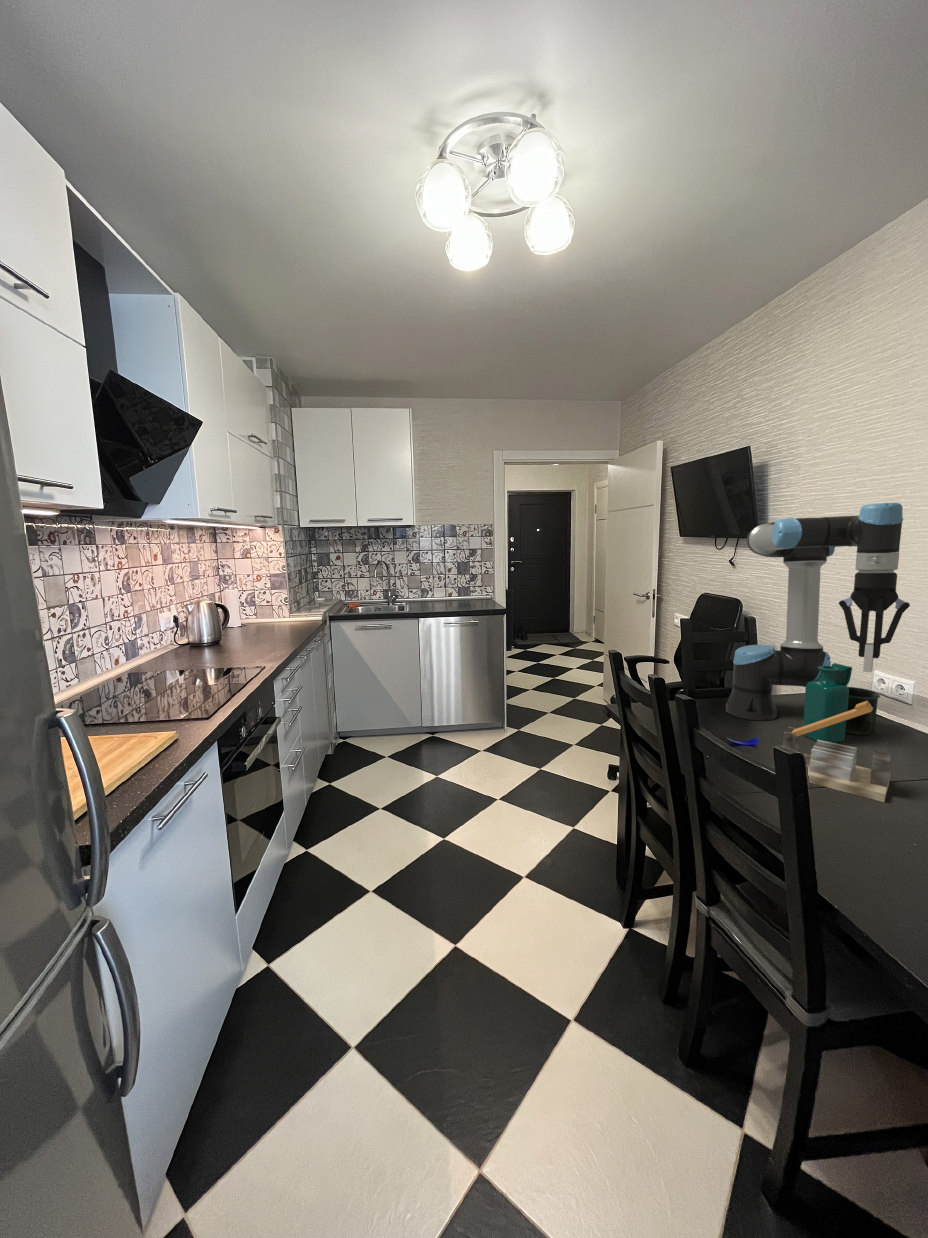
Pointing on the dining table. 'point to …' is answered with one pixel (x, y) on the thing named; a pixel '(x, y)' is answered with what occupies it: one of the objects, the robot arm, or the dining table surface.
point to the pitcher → (827, 702)
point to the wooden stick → (835, 719)
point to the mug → (866, 721)
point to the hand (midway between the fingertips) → (867, 670)
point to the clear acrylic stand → (844, 768)
